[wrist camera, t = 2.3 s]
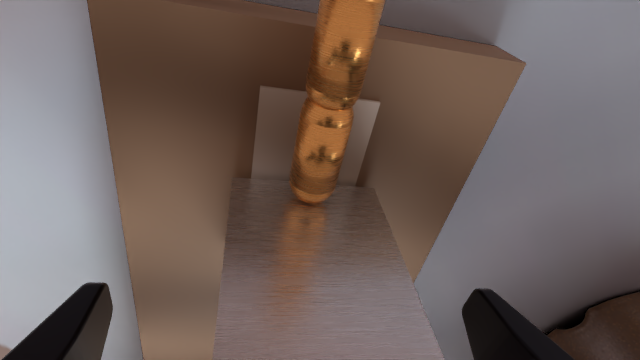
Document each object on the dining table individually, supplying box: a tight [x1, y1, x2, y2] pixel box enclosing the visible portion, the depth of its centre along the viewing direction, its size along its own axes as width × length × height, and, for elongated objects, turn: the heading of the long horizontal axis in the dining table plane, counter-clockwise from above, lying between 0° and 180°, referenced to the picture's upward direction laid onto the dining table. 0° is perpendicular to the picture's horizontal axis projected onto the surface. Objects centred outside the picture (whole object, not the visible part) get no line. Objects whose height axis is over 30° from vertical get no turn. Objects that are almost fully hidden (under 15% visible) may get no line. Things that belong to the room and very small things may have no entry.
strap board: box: [87, 0, 526, 360], centre depth 15 cm, size 21×10×2 cm, turn 169°
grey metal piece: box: [212, 0, 445, 360], centre depth 7 cm, size 8×4×6 cm, turn 169°
